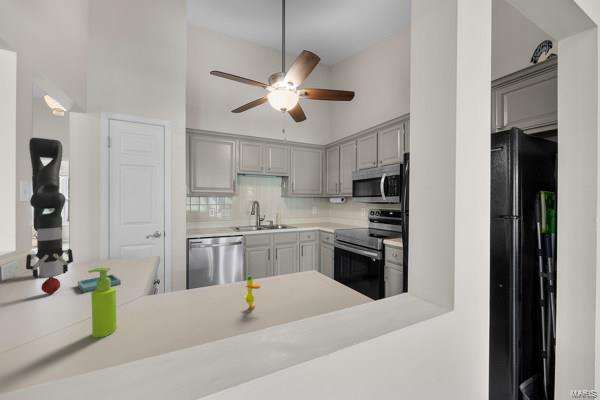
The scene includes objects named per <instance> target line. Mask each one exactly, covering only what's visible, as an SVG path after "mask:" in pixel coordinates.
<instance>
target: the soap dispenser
mask: <svg viewBox="0 0 600 400" xmlns="http://www.w3.org/2000/svg"><path fill="white" fill-rule="evenodd" d="M110 270H111V268H110V267H98V268H97V267H96V268H94V269H91V270H88V271H87V273H88V274H89V273H97V272H98V273H99V277H100V279H99V280H97V290H95V291H91V323H92V325H91V327H92V329H91V330H92V337H93V338H95V339H97V338H98V337H100V338H105V337H107V335H108V336H110V335H112V334H114V333H115V332H116V331H117V330H118V329H117V328H118V327H117V291H116V290H117V289H116V287H115V286H112V287H111V282H110V278H108V277H107V275H108V273H107V272H109V271H110ZM116 329H117V330H116ZM115 330H116V331H115ZM114 331H115V332H114ZM113 332H114V333H113ZM111 333H112V334H111ZM109 334H110V335H109ZM104 336H105V337H104ZM98 339H99V338H98Z"/></svg>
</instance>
